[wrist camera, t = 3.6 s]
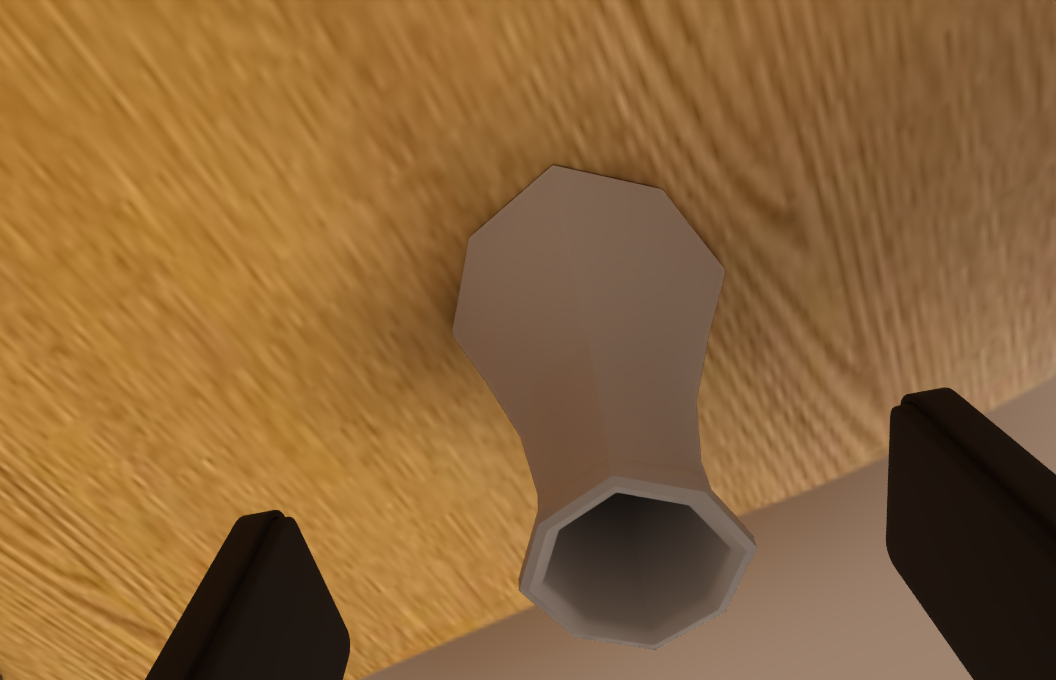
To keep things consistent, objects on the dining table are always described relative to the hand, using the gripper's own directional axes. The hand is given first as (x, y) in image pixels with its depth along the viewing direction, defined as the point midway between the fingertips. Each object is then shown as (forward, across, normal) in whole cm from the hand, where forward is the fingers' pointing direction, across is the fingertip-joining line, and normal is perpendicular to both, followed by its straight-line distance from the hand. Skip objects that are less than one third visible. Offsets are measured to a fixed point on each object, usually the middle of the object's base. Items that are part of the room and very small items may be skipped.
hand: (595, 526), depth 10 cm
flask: (+9, -1, 0) cm, 9 cm away
